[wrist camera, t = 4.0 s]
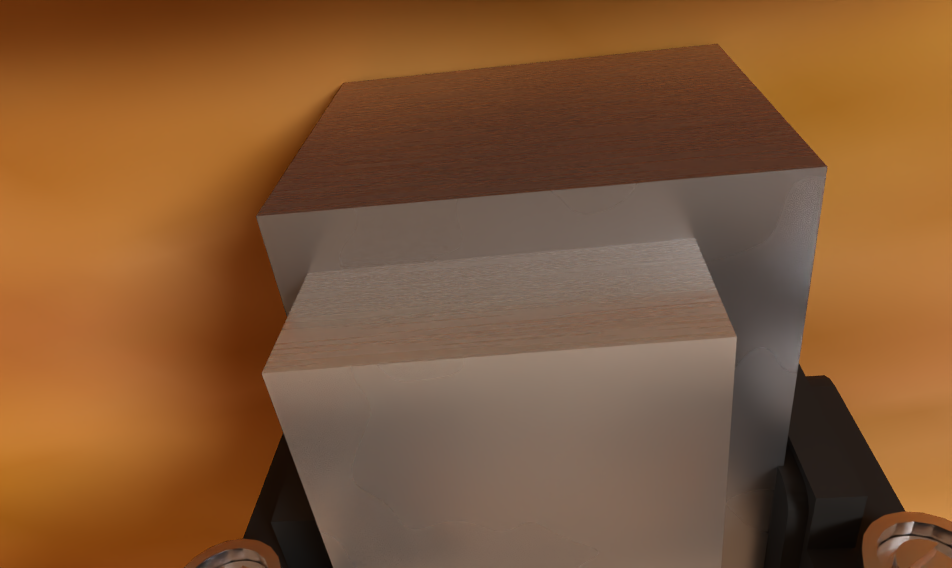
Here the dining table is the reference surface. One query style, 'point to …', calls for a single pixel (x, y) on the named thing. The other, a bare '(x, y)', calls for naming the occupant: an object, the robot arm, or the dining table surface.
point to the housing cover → (513, 409)
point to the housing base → (580, 203)
